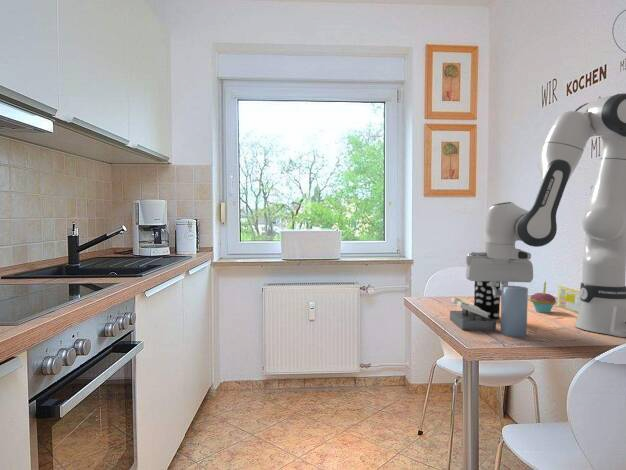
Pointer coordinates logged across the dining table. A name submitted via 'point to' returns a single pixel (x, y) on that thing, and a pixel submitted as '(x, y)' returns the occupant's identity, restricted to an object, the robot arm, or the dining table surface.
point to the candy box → (569, 299)
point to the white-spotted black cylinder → (487, 298)
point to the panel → (472, 321)
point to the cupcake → (543, 301)
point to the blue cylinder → (514, 311)
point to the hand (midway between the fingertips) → (498, 295)
